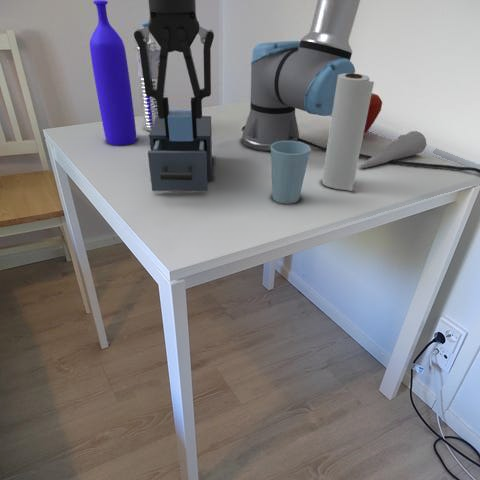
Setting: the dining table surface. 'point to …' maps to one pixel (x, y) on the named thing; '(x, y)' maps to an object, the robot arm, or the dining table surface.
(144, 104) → the water bottle
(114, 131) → the bottle
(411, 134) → the long tapered cone
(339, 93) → the paper towel roll
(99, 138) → the dining table surface
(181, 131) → the steel blue cube
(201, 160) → the drawer
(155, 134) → the cabinet
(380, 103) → the apple
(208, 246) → the dining table surface
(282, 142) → the cup
